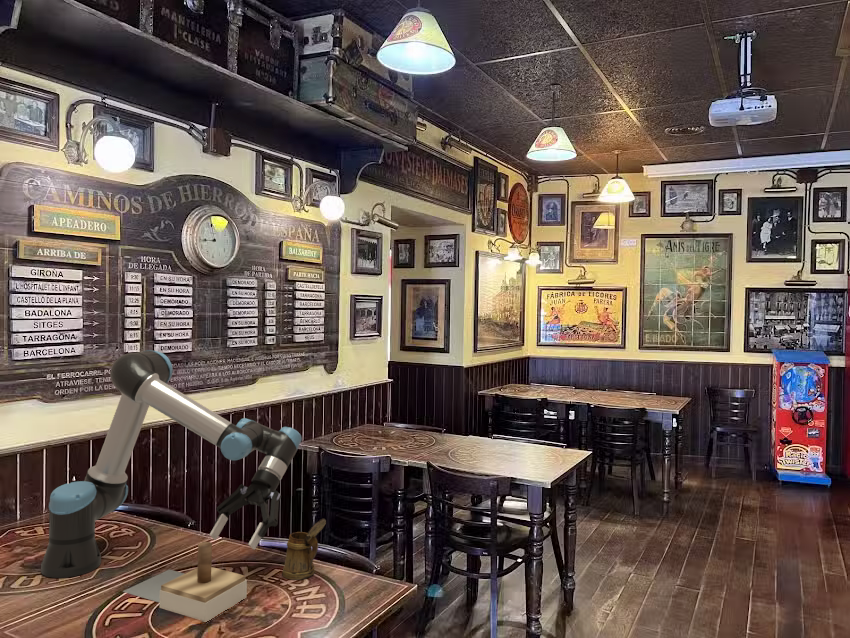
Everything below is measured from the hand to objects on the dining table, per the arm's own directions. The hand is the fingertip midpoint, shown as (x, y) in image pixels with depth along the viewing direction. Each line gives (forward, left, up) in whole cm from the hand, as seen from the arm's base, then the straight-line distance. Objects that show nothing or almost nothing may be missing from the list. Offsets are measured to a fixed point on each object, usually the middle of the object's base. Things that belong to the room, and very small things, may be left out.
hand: (231, 542), depth 172 cm
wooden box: (+1, -11, -12) cm, 16 cm away
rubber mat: (-15, -8, -12) cm, 21 cm away
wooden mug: (+13, +16, -13) cm, 24 cm away
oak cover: (+1, -11, -7) cm, 13 cm away
